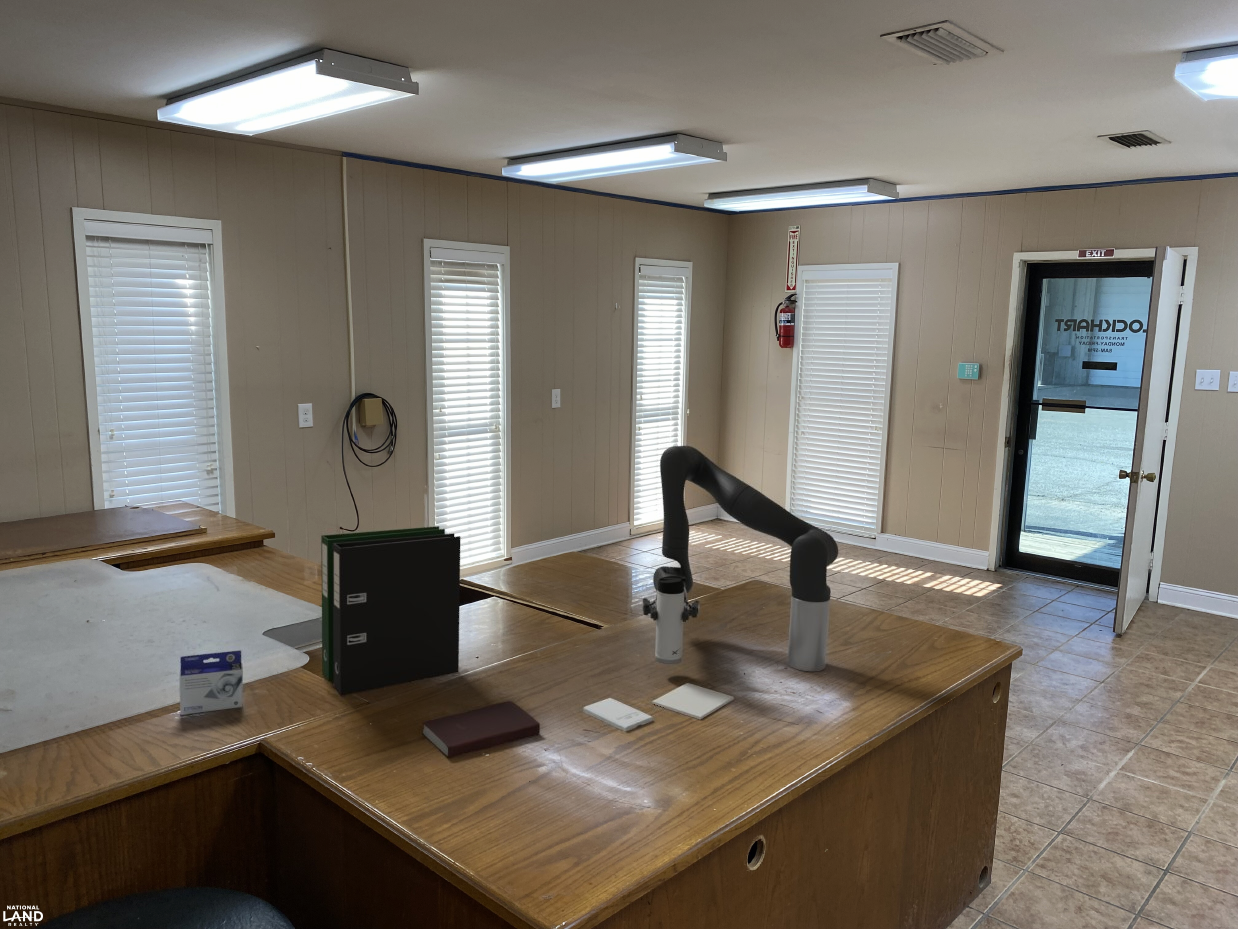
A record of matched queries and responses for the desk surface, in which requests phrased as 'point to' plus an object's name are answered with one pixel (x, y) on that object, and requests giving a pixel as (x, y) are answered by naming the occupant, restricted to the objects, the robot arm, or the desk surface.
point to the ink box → (211, 682)
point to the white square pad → (693, 700)
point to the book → (480, 728)
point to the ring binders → (389, 607)
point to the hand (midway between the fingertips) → (669, 617)
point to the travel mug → (669, 619)
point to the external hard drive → (617, 714)
